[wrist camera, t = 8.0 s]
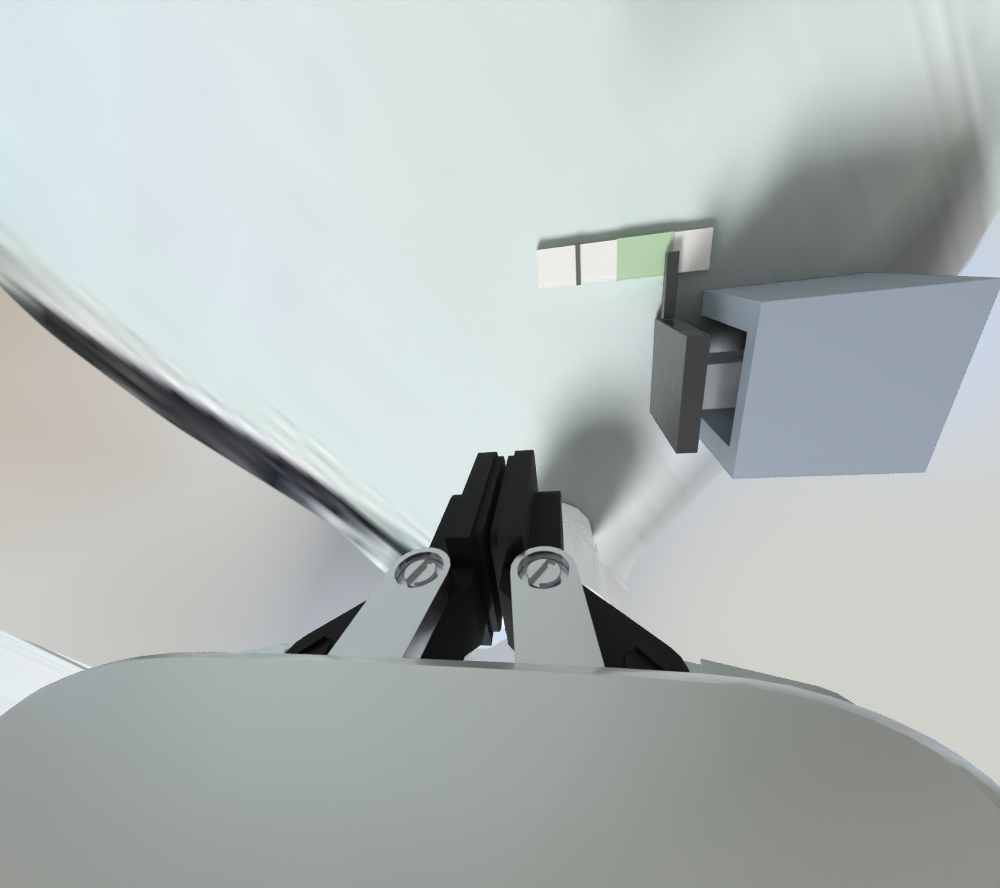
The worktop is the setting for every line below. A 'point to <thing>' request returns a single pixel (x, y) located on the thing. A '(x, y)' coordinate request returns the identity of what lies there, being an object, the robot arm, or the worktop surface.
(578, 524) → the white cup
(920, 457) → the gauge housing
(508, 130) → the worktop surface
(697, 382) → the plunger
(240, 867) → the robot arm
